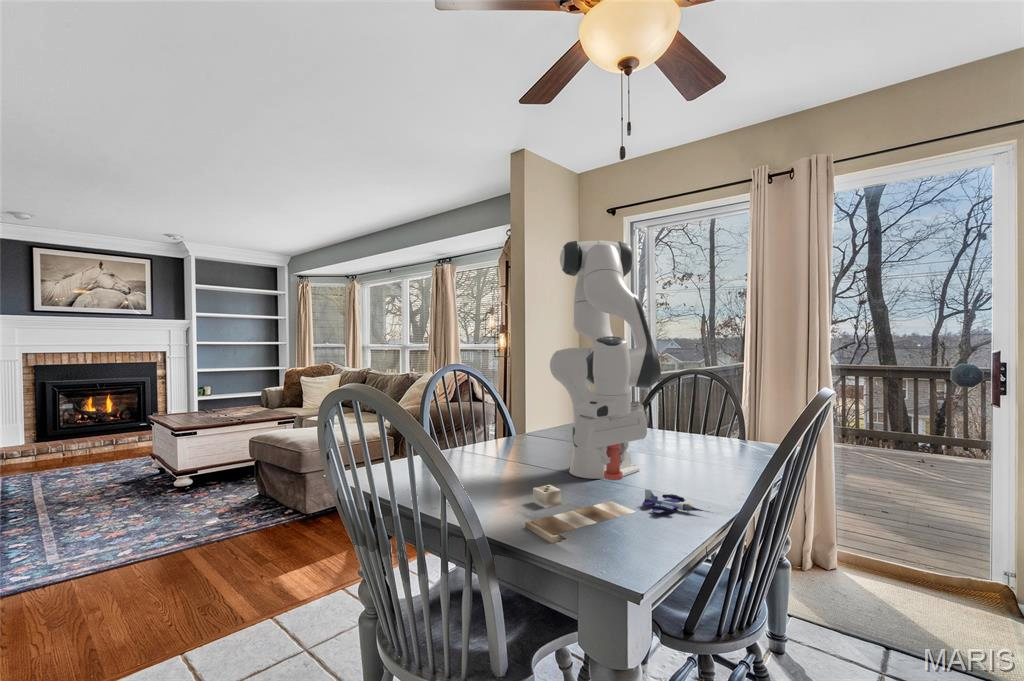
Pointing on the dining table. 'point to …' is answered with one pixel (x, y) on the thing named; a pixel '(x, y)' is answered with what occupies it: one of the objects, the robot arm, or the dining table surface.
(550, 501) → the die
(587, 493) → the dining table surface
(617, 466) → the pawn
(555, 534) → the track board
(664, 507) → the toy airplane
